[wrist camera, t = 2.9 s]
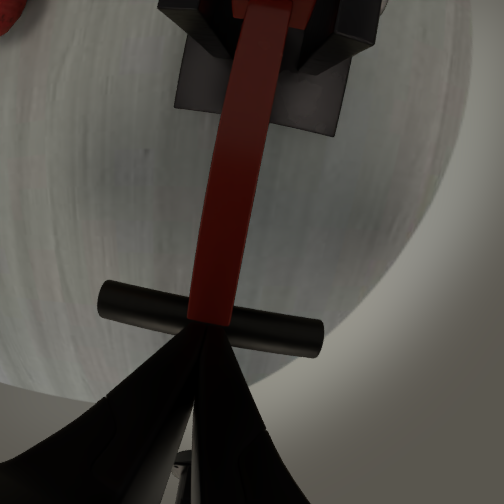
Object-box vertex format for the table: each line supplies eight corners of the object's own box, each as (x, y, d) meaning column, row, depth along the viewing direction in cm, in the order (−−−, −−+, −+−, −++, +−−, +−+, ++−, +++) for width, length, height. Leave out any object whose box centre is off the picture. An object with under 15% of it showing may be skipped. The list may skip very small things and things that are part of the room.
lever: (306, 336, 10) (321, 379, 7) (119, 300, 10) (86, 333, 7) (371, -15, 7) (397, -51, 5) (194, -46, 7) (182, -88, 5)
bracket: (329, 135, 16) (406, 175, 7) (179, 107, 15) (81, 117, 7) (362, -25, 11) (440, -111, 3) (215, -53, 11) (174, -159, 2)
